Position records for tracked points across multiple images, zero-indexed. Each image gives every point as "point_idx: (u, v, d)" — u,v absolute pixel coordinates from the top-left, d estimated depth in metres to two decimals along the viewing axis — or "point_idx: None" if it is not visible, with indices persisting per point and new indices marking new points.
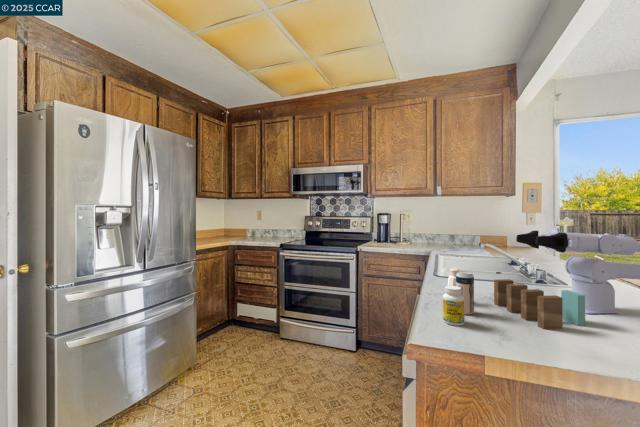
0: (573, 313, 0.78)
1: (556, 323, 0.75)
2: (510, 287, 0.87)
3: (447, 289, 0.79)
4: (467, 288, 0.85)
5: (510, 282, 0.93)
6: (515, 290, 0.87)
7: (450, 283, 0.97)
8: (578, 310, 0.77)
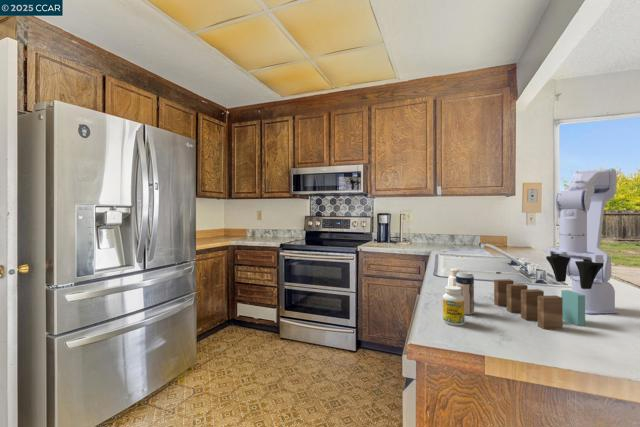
0: (573, 313, 0.78)
1: (556, 323, 0.75)
2: (510, 287, 0.87)
3: (447, 289, 0.79)
4: (467, 288, 0.85)
5: (510, 282, 0.93)
6: (515, 290, 0.87)
7: (450, 283, 0.97)
8: (578, 310, 0.77)
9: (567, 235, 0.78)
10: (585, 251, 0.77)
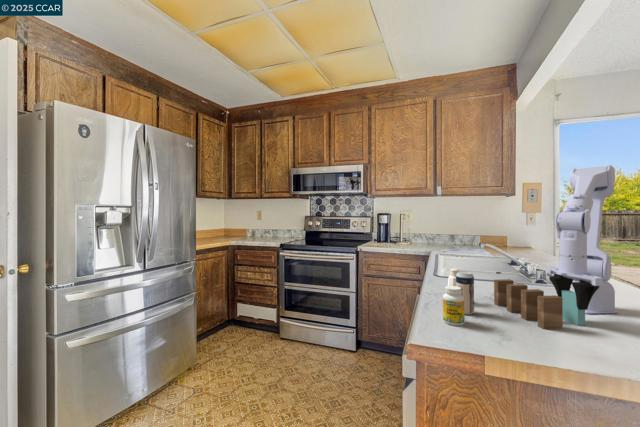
0: (573, 313, 0.78)
1: (556, 323, 0.75)
2: (510, 287, 0.87)
3: (447, 289, 0.79)
4: (467, 288, 0.85)
5: (510, 282, 0.93)
6: (515, 290, 0.87)
7: (450, 283, 0.97)
8: (578, 310, 0.77)
9: (567, 256, 0.78)
10: (585, 273, 0.77)
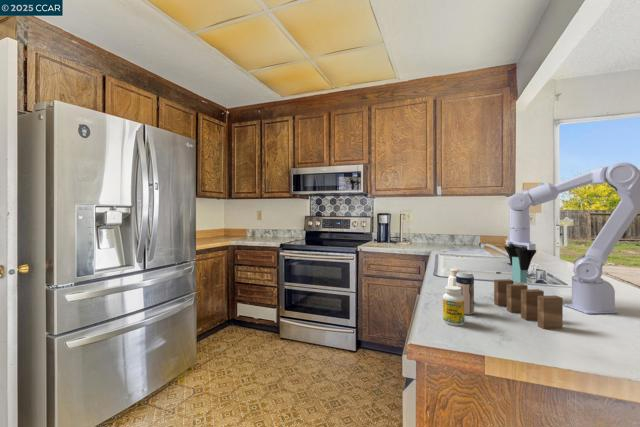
0: (518, 273, 0.99)
1: (556, 323, 0.75)
2: (510, 287, 0.87)
3: (447, 289, 0.79)
4: (467, 288, 0.85)
5: (510, 282, 0.93)
6: (515, 290, 0.87)
7: (450, 283, 0.97)
8: (520, 271, 0.98)
9: (513, 229, 0.99)
10: (527, 241, 0.98)
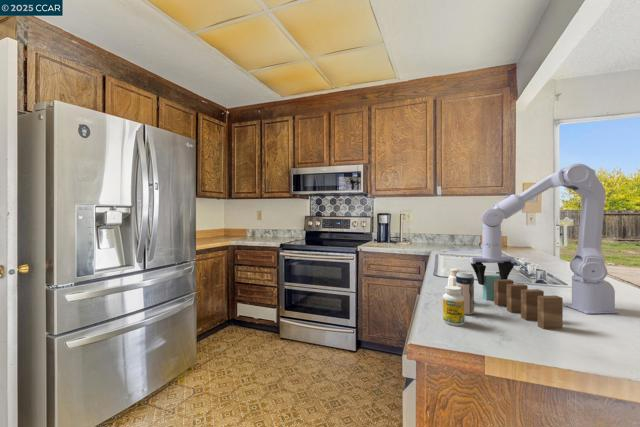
0: None
1: (556, 323, 0.75)
2: (510, 287, 0.87)
3: (447, 289, 0.79)
4: (467, 288, 0.85)
5: (510, 282, 0.93)
6: (515, 290, 0.87)
7: (450, 283, 0.97)
8: (483, 287, 1.01)
9: None
10: (485, 257, 0.99)
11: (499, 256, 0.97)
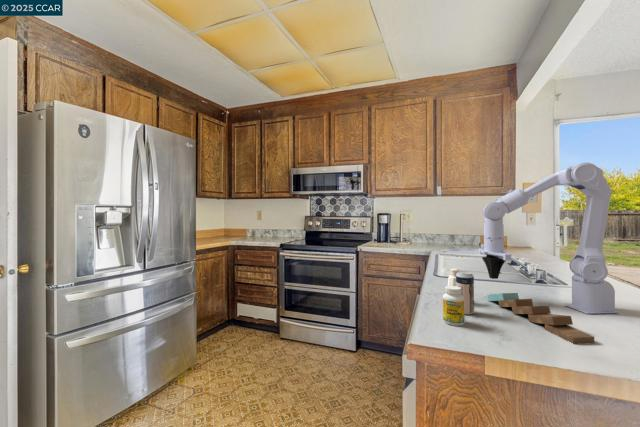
0: None
1: None
2: (531, 312, 0.79)
3: (447, 289, 0.79)
4: (467, 288, 0.85)
5: None
6: None
7: (450, 283, 0.97)
8: (494, 294, 0.95)
9: (488, 238, 0.98)
10: (501, 251, 0.96)
11: None
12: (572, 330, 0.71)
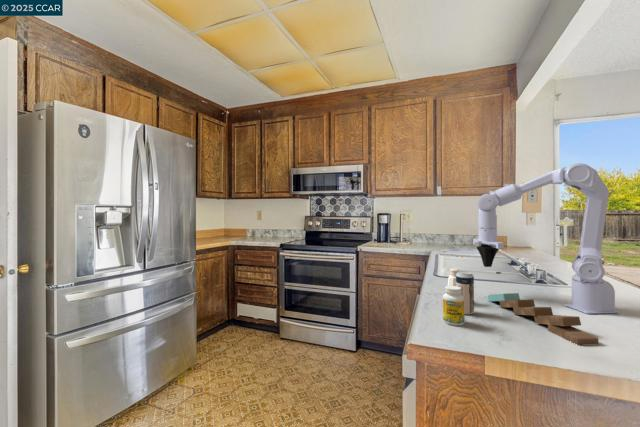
0: None
1: None
2: (533, 314, 0.78)
3: (447, 289, 0.79)
4: (467, 288, 0.85)
5: (530, 306, 0.85)
6: None
7: (450, 283, 0.97)
8: (495, 295, 0.95)
9: (482, 228, 1.03)
10: (494, 240, 1.01)
11: None
12: (575, 331, 0.70)
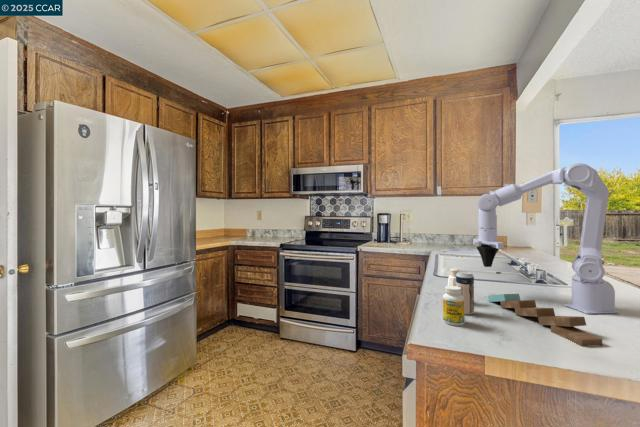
0: None
1: None
2: (536, 315, 0.78)
3: (447, 289, 0.79)
4: (467, 288, 0.85)
5: None
6: None
7: (450, 283, 0.97)
8: (495, 295, 0.94)
9: (482, 228, 1.03)
10: (494, 240, 1.01)
11: None
12: (578, 332, 0.70)
